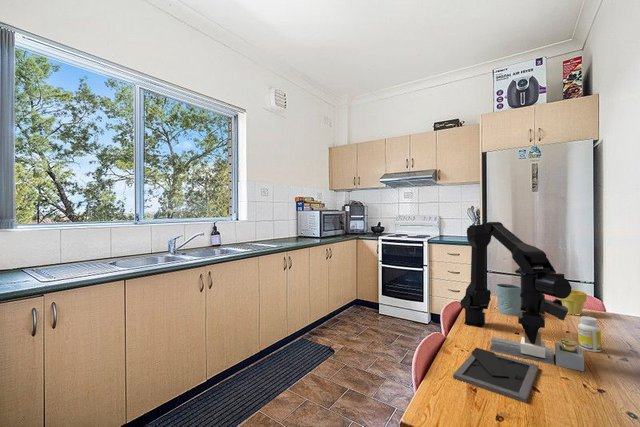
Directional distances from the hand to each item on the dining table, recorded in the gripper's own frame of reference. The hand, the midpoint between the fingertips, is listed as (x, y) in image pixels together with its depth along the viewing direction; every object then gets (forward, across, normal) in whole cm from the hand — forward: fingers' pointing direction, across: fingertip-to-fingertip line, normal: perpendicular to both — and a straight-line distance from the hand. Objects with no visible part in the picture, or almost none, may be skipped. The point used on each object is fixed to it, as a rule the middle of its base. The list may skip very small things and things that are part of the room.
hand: (532, 341), depth 91 cm
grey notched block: (+4, 0, -8) cm, 9 cm away
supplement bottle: (+4, +16, -14) cm, 22 cm away
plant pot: (+4, +59, -12) cm, 60 cm away
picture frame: (+5, -19, +8) cm, 21 cm away
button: (+2, 0, -8) cm, 9 cm away
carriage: (+4, 0, 0) cm, 4 cm away
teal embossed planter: (+4, +45, +10) cm, 46 cm away
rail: (+4, 0, +3) cm, 5 cm away
